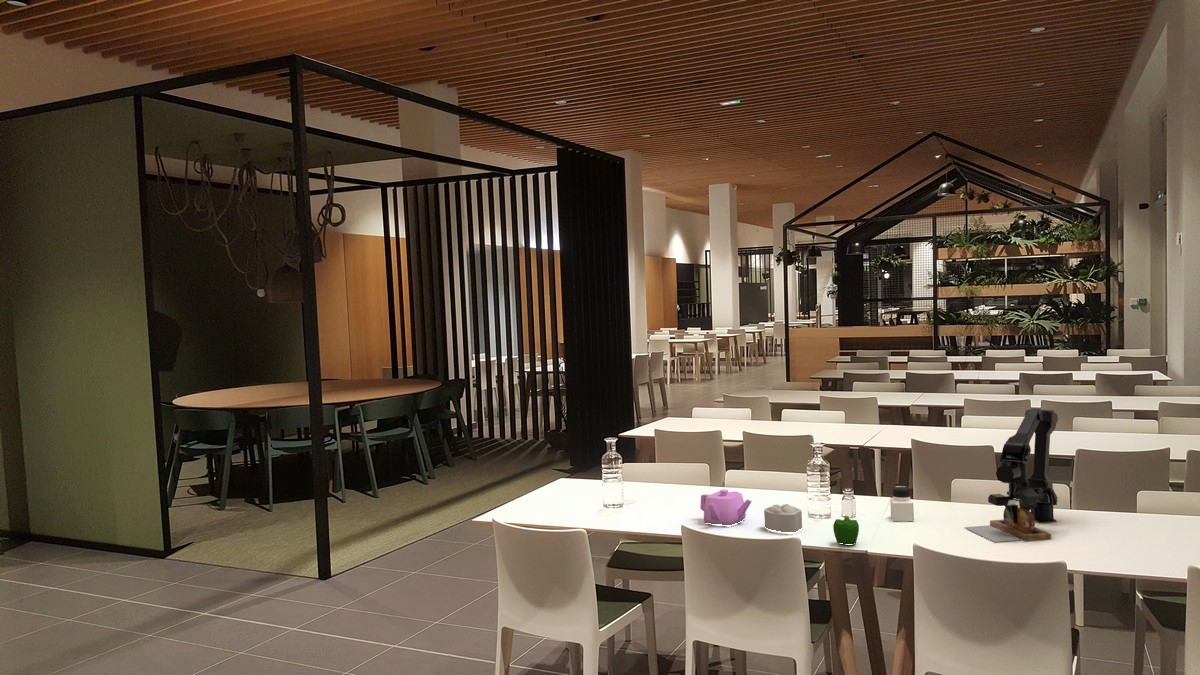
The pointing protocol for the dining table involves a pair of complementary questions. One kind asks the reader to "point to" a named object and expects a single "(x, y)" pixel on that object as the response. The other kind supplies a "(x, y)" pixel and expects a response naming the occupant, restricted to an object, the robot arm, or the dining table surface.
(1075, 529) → the dining table surface
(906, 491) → the medicine bottle
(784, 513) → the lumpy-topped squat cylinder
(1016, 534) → the frame
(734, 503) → the teakettle
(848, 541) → the bell pepper
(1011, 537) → the grey mat
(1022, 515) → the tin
